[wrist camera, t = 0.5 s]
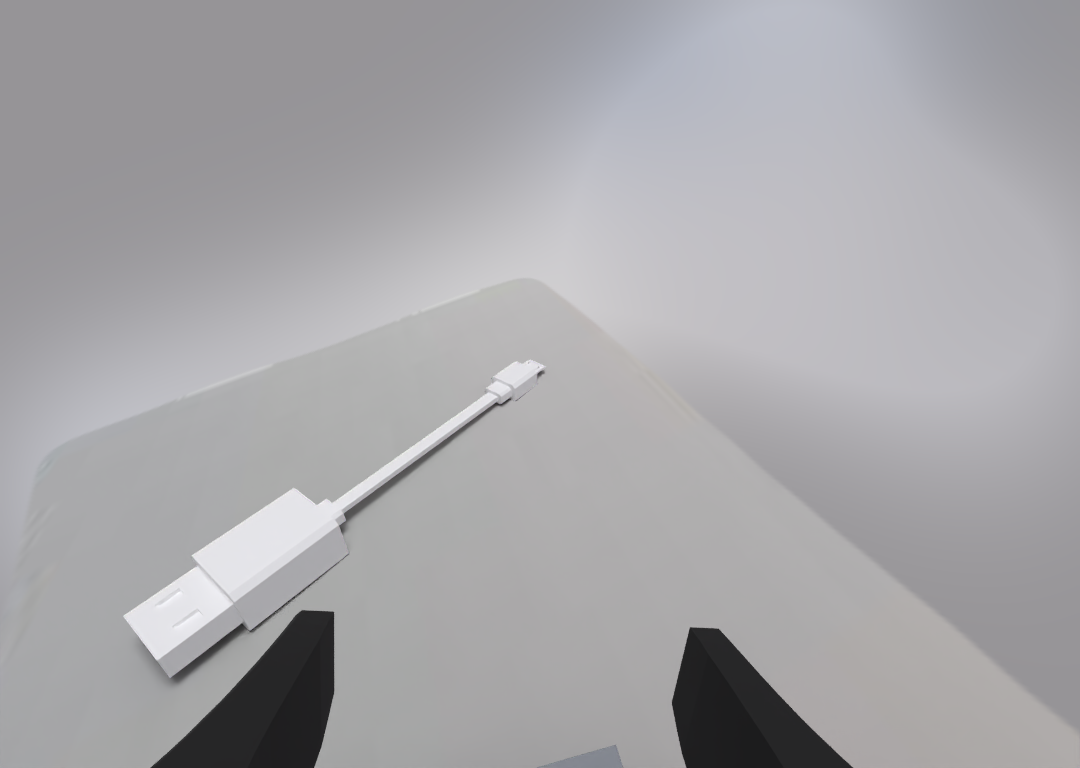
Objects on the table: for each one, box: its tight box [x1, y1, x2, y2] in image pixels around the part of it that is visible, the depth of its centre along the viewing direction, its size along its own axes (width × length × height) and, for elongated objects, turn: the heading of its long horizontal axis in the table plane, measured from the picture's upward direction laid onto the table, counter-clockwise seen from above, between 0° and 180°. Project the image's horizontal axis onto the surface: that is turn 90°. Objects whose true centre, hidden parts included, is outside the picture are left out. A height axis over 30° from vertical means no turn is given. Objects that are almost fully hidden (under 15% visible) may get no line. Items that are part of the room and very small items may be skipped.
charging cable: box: [124, 359, 546, 678], centre depth 43 cm, size 5×32×3 cm, turn 140°
